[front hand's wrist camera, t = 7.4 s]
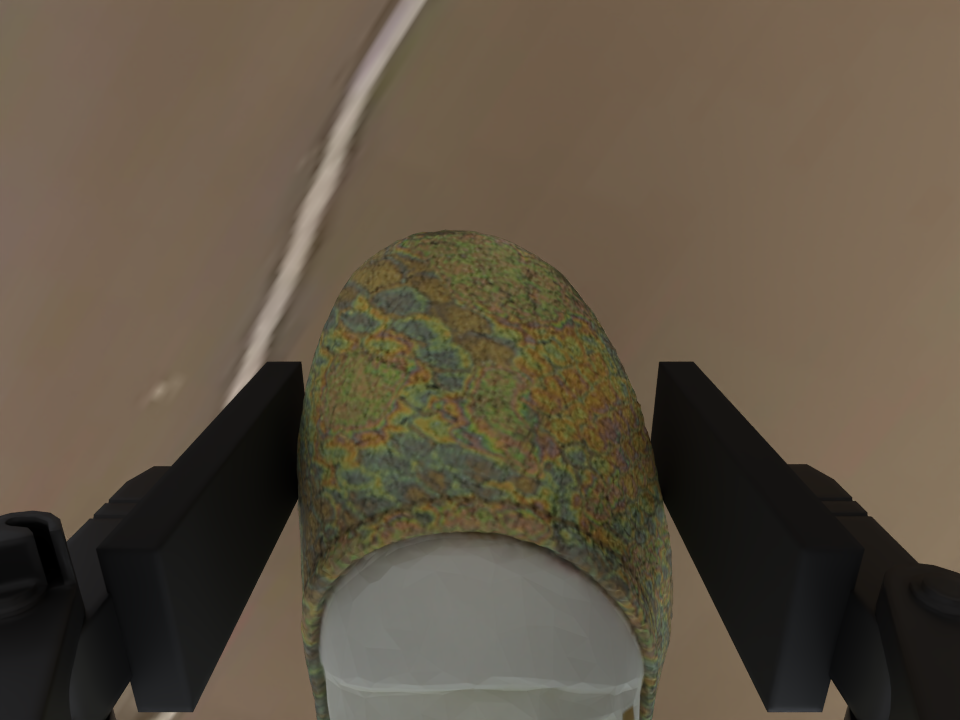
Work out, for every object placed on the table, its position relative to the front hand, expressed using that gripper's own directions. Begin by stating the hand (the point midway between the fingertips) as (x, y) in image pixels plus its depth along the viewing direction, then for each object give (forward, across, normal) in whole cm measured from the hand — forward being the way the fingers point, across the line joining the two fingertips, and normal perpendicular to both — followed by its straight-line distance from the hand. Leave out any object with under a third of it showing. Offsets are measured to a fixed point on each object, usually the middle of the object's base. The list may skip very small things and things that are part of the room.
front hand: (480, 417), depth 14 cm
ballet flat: (+1, 0, -8) cm, 8 cm away
